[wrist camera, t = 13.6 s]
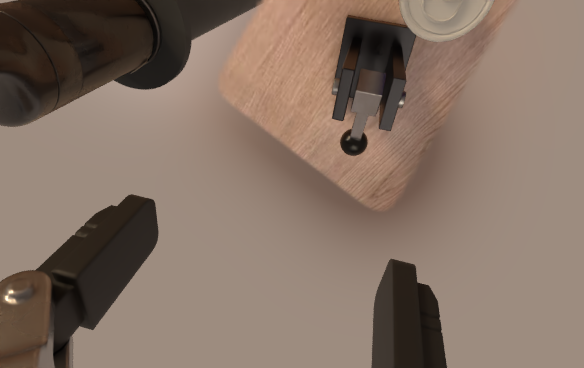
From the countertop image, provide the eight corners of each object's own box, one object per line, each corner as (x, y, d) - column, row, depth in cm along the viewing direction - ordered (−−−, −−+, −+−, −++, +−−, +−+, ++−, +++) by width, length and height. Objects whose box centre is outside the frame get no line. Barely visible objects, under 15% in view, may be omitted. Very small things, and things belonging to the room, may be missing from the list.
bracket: (394, 102, 41) (396, 152, 31) (333, 90, 42) (316, 135, 32) (417, 27, 36) (427, 58, 27) (347, 14, 37) (333, 41, 28)
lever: (366, 140, 40) (362, 163, 39) (341, 135, 40) (336, 157, 39) (391, 72, 30) (386, 99, 29) (357, 65, 30) (351, 92, 29)
